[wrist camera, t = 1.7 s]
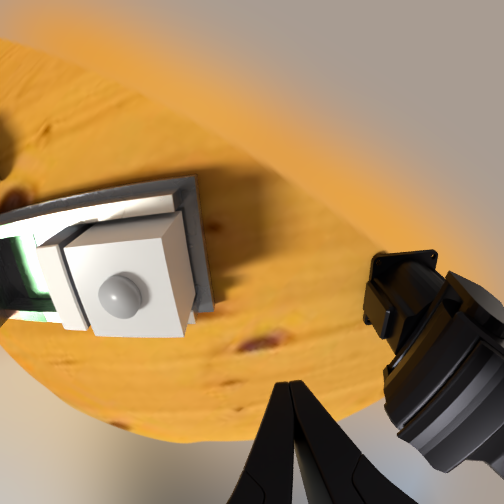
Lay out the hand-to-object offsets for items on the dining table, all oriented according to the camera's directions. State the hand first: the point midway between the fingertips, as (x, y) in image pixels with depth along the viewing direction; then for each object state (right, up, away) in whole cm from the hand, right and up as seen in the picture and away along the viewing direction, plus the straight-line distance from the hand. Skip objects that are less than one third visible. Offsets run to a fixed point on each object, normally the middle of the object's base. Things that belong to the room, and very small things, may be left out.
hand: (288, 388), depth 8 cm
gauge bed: (-16, +4, +12) cm, 20 cm away
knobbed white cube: (-8, +4, +10) cm, 14 cm away
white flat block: (-13, +4, +10) cm, 17 cm away
